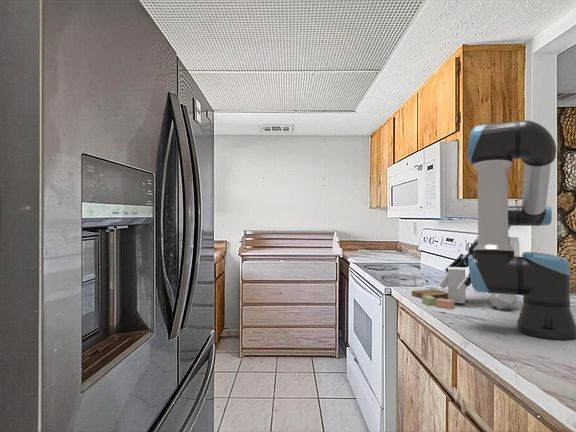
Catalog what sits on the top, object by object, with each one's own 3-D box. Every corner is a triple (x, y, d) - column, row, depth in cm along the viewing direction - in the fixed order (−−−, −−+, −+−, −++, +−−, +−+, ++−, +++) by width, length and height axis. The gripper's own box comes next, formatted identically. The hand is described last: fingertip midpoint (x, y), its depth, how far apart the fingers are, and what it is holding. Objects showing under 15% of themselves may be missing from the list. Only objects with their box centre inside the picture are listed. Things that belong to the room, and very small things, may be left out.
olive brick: (436, 306, 156) (436, 298, 156) (428, 306, 156) (428, 298, 156) (429, 302, 162) (429, 295, 162) (422, 303, 162) (422, 295, 162)
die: (516, 314, 144) (524, 291, 147) (493, 301, 145) (502, 279, 148) (504, 317, 151) (512, 294, 154) (482, 305, 153) (491, 283, 156)
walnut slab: (453, 298, 168) (453, 293, 168) (428, 300, 165) (428, 295, 165) (435, 293, 180) (435, 288, 180) (411, 295, 176) (411, 290, 176)
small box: (465, 303, 154) (465, 269, 154) (447, 302, 157) (447, 269, 157) (465, 299, 162) (464, 267, 162) (448, 298, 164) (447, 266, 164)
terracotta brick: (454, 308, 152) (454, 300, 152) (450, 310, 150) (450, 301, 150) (440, 306, 156) (440, 298, 156) (435, 307, 154) (435, 299, 154)
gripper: (510, 256, 153) (476, 300, 148) (467, 251, 175) (437, 290, 170) (498, 242, 152) (464, 287, 147) (457, 239, 173) (426, 278, 168)
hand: (450, 288), depth 158 cm, fingers closed on small box, 10 cm apart
